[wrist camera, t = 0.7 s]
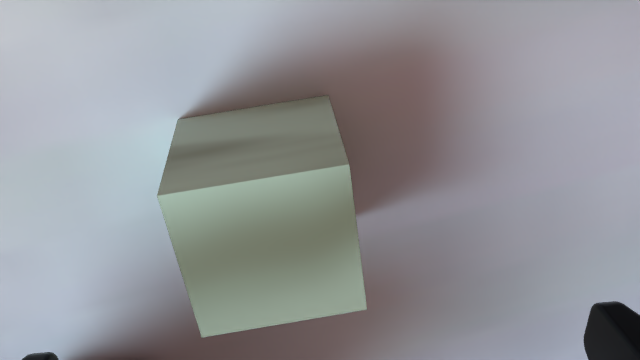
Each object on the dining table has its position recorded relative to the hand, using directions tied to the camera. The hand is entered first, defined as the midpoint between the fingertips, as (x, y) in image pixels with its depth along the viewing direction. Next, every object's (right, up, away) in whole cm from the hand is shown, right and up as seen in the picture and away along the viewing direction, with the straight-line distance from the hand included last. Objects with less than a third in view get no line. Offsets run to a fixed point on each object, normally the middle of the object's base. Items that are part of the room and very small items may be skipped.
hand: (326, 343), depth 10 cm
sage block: (-2, +3, +11) cm, 12 cm away
